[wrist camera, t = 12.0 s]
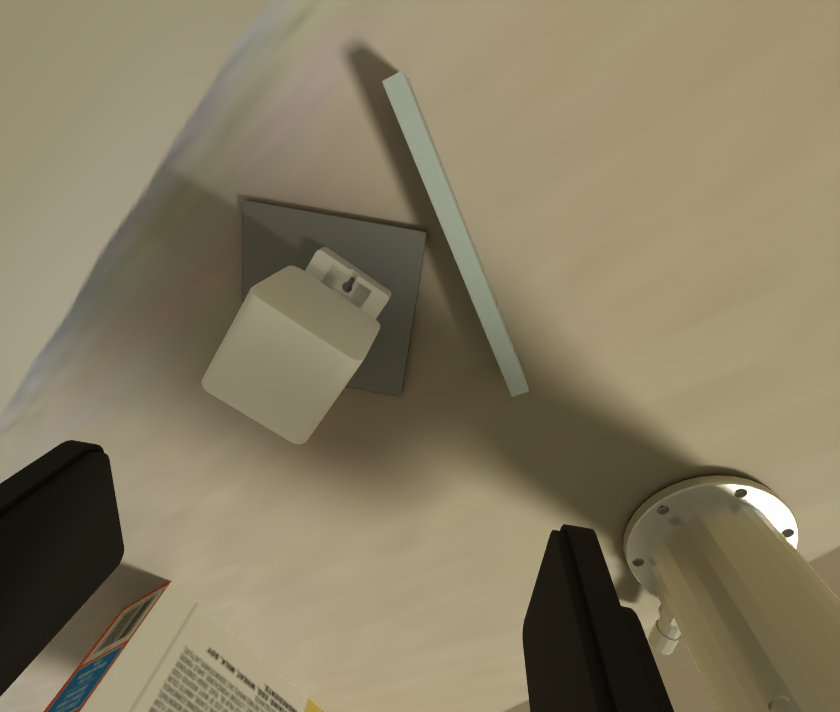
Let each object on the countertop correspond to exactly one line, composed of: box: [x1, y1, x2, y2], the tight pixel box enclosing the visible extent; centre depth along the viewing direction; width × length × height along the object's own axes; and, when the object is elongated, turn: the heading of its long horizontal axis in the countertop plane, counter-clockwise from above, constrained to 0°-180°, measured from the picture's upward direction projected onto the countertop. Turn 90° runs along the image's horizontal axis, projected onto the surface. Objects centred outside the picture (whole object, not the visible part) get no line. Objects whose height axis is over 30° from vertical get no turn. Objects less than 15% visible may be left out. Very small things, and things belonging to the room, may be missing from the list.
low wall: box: [382, 70, 529, 397], centre depth 28 cm, size 20×1×3 cm, turn 24°
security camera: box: [201, 247, 391, 444], centre depth 27 cm, size 6×7×10 cm
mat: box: [242, 200, 427, 397], centre depth 32 cm, size 12×12×1 cm
